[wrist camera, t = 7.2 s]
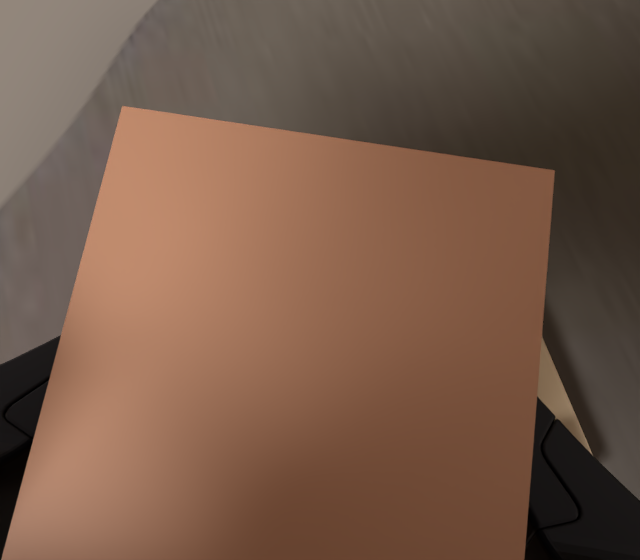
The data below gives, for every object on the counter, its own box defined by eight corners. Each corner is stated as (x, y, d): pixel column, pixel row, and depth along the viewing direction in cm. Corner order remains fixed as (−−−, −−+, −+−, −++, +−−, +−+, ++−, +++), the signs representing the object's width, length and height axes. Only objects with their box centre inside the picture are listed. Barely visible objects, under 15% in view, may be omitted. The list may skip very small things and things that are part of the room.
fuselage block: (369, 438, 15) (522, 671, 3) (246, 417, 15) (-7, 569, 4) (387, 317, 16) (560, 171, 4) (268, 298, 16) (116, 105, 4)
